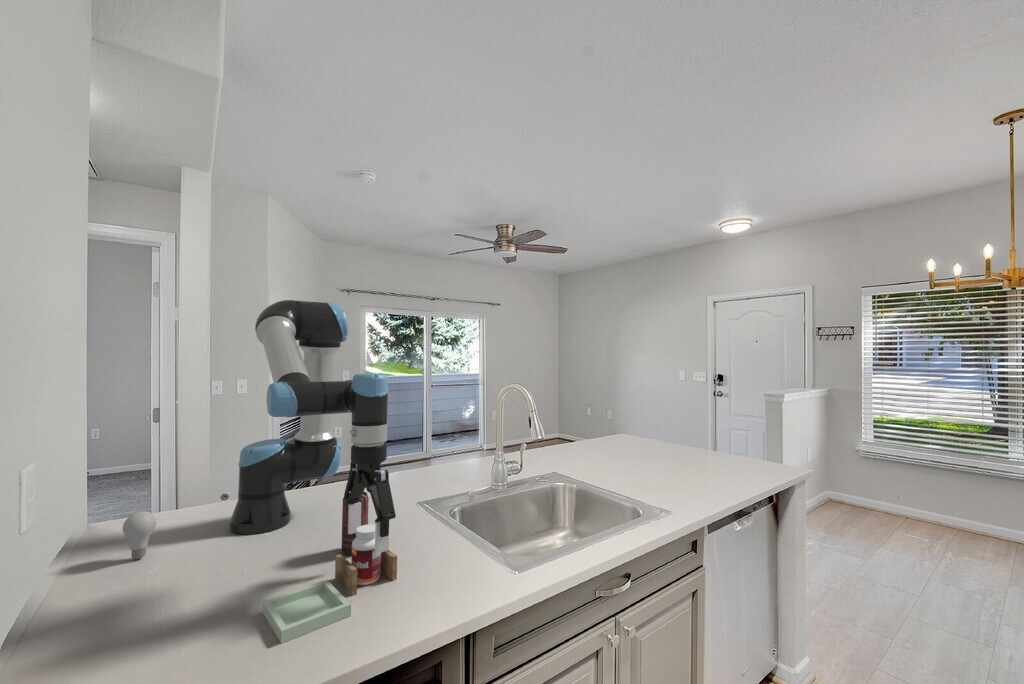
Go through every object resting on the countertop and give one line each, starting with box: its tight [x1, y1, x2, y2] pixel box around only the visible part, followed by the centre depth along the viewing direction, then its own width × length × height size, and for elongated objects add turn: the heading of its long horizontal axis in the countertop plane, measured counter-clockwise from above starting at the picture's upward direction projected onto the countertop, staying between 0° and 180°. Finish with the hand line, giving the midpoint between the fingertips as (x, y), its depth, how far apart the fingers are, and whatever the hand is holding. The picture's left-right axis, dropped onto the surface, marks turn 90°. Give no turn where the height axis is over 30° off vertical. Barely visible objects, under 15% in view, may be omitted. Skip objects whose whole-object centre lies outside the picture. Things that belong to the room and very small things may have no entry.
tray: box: [262, 579, 352, 644], centre depth 83 cm, size 12×12×2 cm
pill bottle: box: [350, 523, 382, 586], centre depth 96 cm, size 6×6×11 cm
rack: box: [334, 549, 398, 596], centre depth 96 cm, size 9×10×5 cm
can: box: [340, 491, 370, 557], centre depth 110 cm, size 6×6×14 cm
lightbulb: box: [122, 510, 157, 560], centre depth 104 cm, size 6×6×11 cm
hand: (367, 541), depth 96 cm, fingers open, 13 cm apart
